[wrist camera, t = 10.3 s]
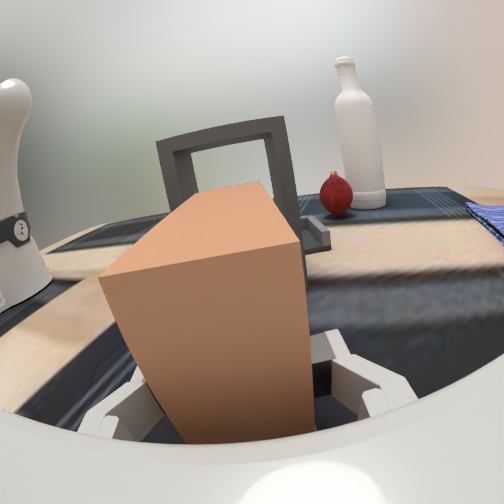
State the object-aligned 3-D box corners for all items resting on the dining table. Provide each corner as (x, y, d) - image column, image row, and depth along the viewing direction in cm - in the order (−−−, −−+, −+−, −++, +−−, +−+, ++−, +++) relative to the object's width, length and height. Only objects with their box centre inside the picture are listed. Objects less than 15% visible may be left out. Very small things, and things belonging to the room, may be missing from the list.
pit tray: (170, 277, 33) (165, 260, 32) (184, 253, 42) (180, 238, 41) (331, 249, 33) (329, 230, 32) (313, 230, 41) (311, 214, 40)
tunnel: (197, 307, 25) (155, 141, 20) (207, 273, 33) (178, 145, 28) (308, 289, 25) (283, 115, 20) (293, 258, 32) (272, 126, 27)
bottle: (378, 211, 45) (352, 49, 35) (341, 208, 51) (315, 59, 41) (391, 202, 50) (368, 59, 40) (357, 200, 56) (335, 66, 46)
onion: (359, 218, 43) (354, 170, 40) (326, 222, 44) (320, 174, 41) (349, 210, 49) (344, 168, 46) (319, 215, 49) (314, 171, 46)
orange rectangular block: (205, 481, 9) (83, 283, 5) (221, 317, 22) (191, 194, 19) (324, 468, 9) (319, 241, 5) (284, 306, 22) (263, 179, 19)
